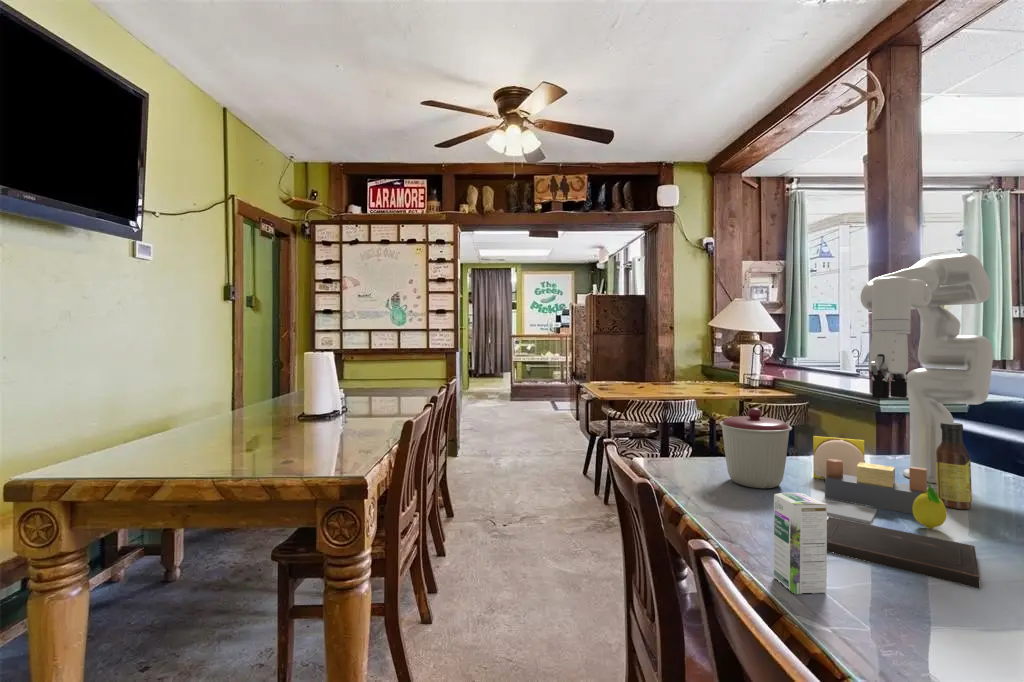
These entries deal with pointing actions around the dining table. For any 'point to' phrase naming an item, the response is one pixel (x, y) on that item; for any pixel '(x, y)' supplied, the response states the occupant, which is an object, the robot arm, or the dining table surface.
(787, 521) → the syrup box
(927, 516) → the lemon
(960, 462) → the sauce bottle
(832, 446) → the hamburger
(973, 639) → the dining table surface
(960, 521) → the dining table surface
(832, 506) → the mat
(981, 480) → the dining table surface
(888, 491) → the plane body
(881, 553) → the hardcover book
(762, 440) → the canister
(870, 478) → the tan rectangular block
